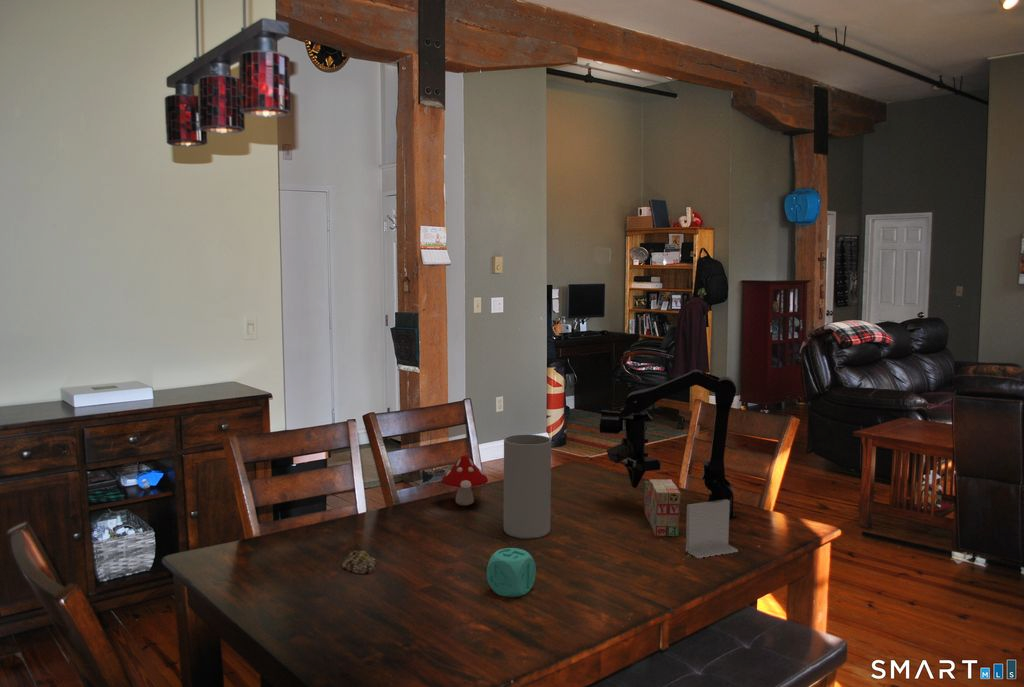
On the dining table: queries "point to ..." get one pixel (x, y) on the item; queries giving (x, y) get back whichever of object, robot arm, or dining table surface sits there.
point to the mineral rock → (359, 562)
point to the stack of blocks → (662, 506)
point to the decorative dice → (511, 572)
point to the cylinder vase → (527, 486)
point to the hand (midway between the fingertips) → (634, 487)
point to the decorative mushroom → (464, 479)
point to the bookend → (708, 529)
